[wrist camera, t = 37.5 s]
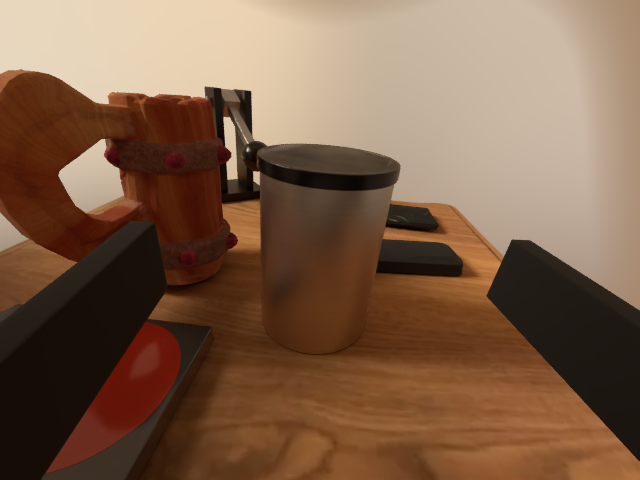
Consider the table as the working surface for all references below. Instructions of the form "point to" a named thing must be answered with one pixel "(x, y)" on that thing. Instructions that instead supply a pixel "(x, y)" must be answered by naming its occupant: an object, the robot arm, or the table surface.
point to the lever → (241, 129)
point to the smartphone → (411, 217)
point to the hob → (134, 404)
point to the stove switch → (244, 184)
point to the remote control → (418, 258)
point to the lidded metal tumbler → (320, 241)
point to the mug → (123, 152)
